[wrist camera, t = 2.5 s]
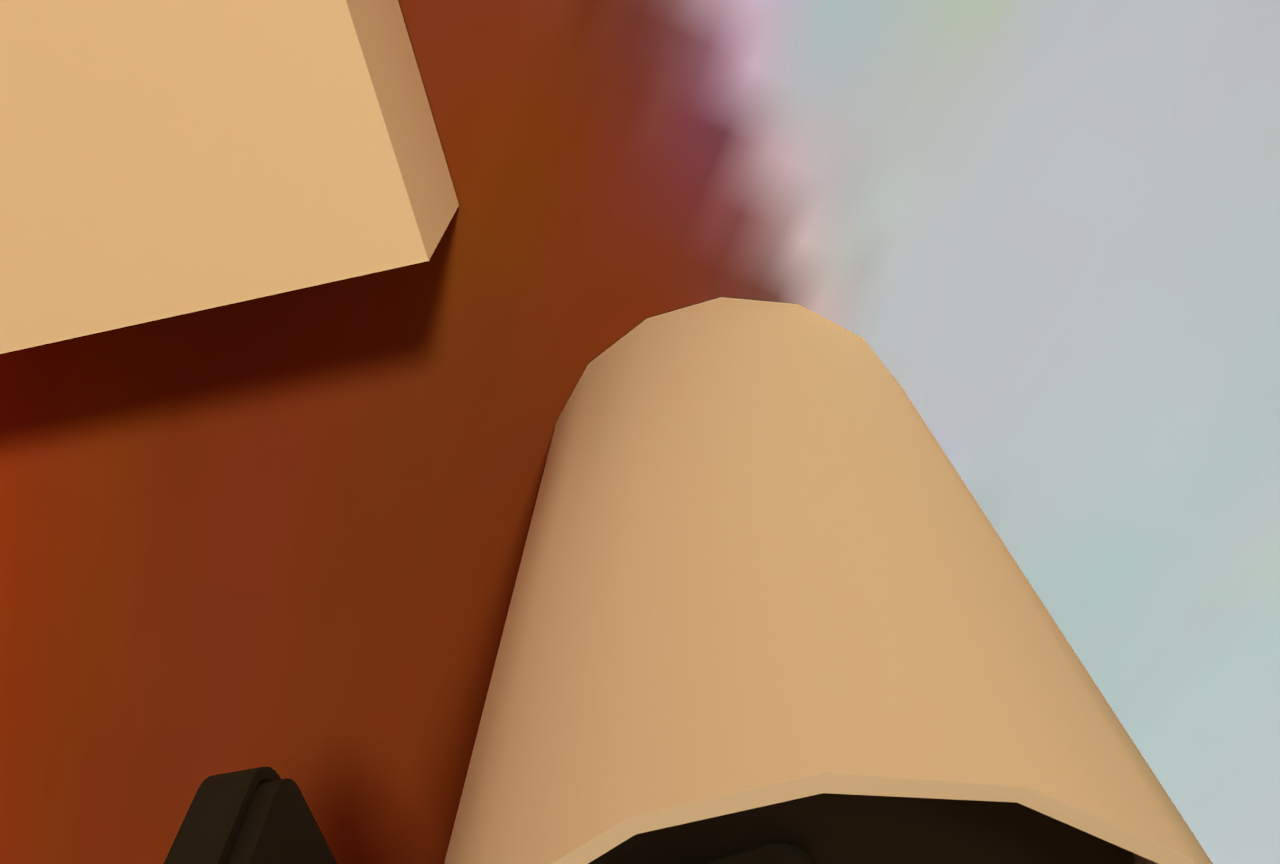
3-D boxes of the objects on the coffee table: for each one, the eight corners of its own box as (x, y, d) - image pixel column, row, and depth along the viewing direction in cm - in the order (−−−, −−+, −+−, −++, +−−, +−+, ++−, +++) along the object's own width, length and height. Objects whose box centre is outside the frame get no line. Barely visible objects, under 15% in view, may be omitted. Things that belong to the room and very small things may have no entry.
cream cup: (646, 696, 19) (654, 1399, 10) (439, 393, 17) (211, 984, 8) (1007, 543, 18) (1376, 1204, 9) (843, 185, 15) (1134, 615, 6)
